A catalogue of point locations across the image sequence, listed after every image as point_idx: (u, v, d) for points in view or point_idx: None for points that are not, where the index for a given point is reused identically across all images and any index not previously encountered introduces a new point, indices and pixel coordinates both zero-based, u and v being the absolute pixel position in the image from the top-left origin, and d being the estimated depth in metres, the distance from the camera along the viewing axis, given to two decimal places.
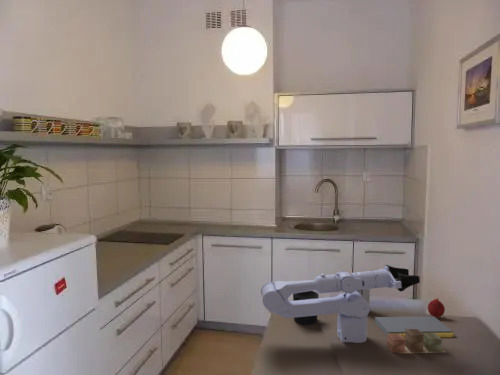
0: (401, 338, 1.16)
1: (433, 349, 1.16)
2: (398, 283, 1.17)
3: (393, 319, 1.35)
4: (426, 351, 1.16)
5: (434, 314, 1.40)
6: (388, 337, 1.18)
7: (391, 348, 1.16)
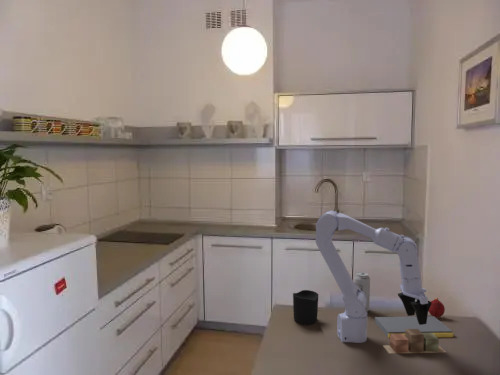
0: (404, 338, 1.16)
1: (430, 349, 1.16)
2: (426, 300, 1.10)
3: (393, 319, 1.35)
4: None
5: (434, 314, 1.40)
6: (391, 337, 1.18)
7: (395, 348, 1.16)
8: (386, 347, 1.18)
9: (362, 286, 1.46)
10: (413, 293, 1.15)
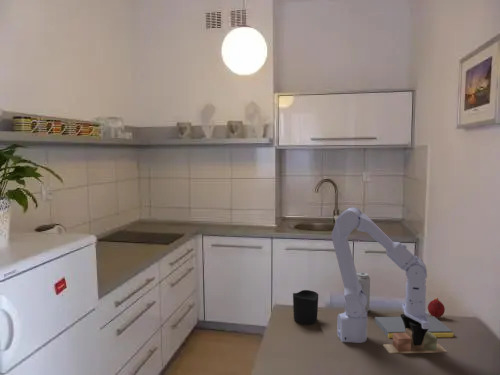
0: (407, 337, 1.16)
1: (428, 348, 1.16)
2: (428, 326, 1.10)
3: (393, 319, 1.35)
4: None
5: (434, 314, 1.40)
6: (393, 336, 1.18)
7: (397, 347, 1.16)
8: (386, 346, 1.18)
9: (362, 286, 1.46)
10: (415, 316, 1.14)
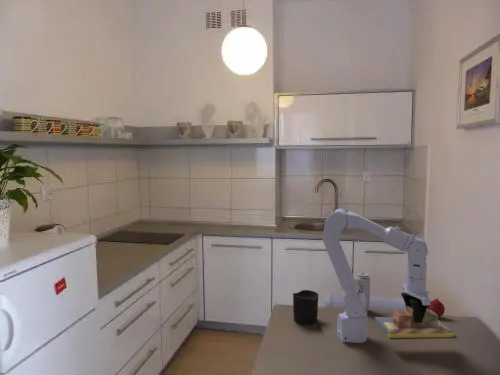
0: (407, 314, 1.16)
1: (429, 325, 1.16)
2: (429, 302, 1.10)
3: None
4: None
5: None
6: (394, 314, 1.18)
7: (397, 324, 1.16)
8: (387, 324, 1.18)
9: (362, 286, 1.46)
10: (416, 293, 1.14)
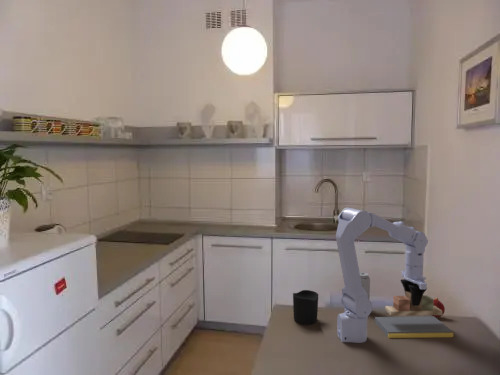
0: (406, 298, 1.30)
1: (425, 308, 1.29)
2: (425, 286, 1.23)
3: (393, 319, 1.35)
4: None
5: None
6: (394, 298, 1.32)
7: (398, 307, 1.29)
8: (388, 307, 1.32)
9: (362, 286, 1.46)
10: (414, 279, 1.28)
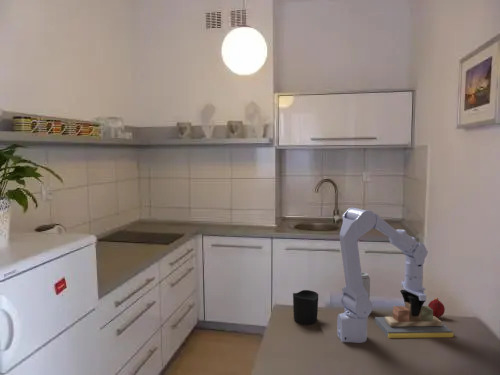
0: (405, 309, 1.30)
1: (425, 319, 1.30)
2: (425, 298, 1.24)
3: None
4: (424, 321, 1.30)
5: (434, 314, 1.40)
6: (394, 309, 1.32)
7: (397, 318, 1.29)
8: (388, 318, 1.32)
9: None
10: (413, 290, 1.28)
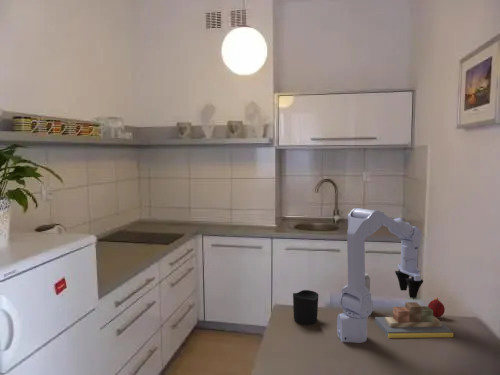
0: (405, 310, 1.30)
1: (425, 320, 1.30)
2: (419, 278, 1.31)
3: None
4: None
5: (434, 314, 1.40)
6: (394, 310, 1.32)
7: (397, 319, 1.29)
8: (388, 318, 1.32)
9: None
10: (409, 271, 1.36)
